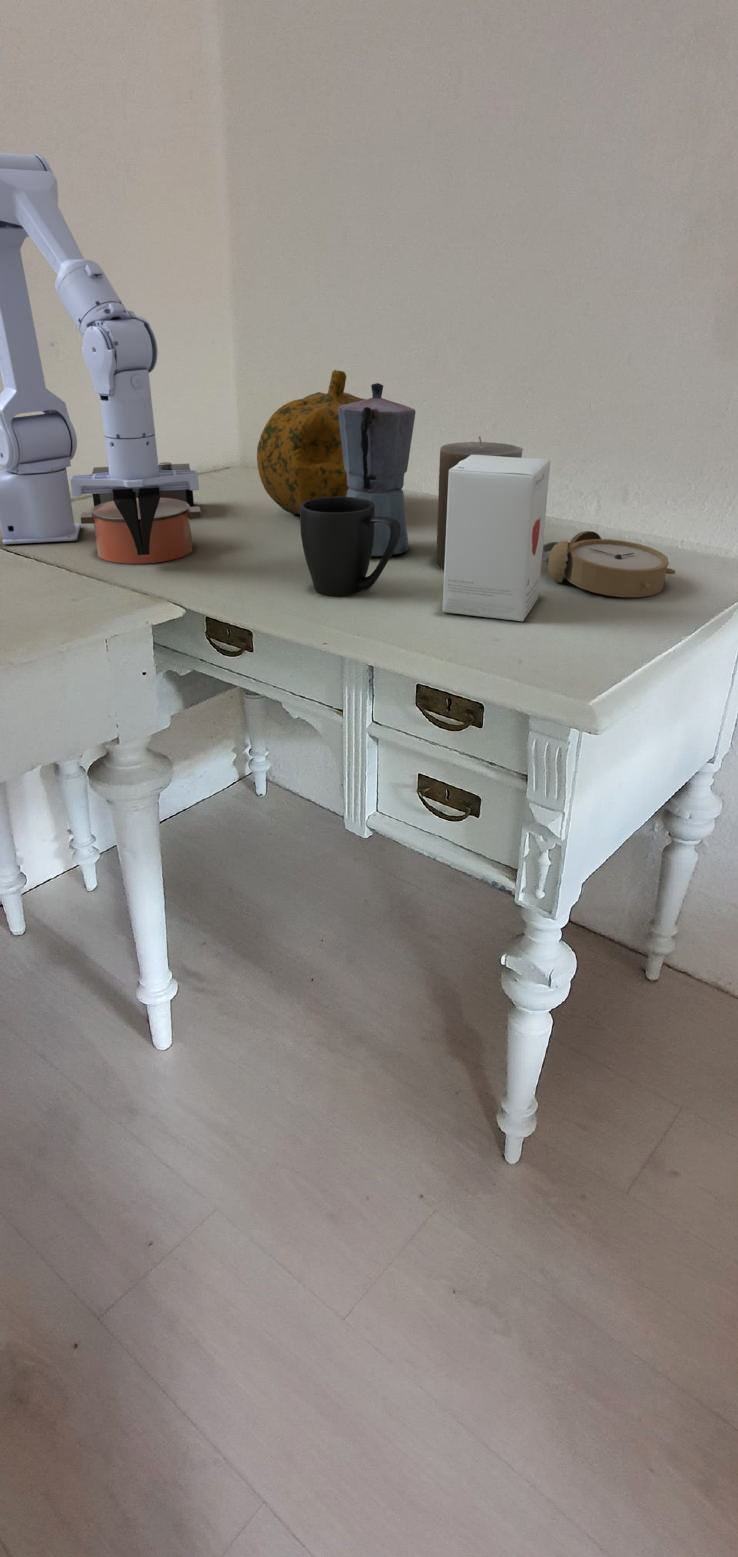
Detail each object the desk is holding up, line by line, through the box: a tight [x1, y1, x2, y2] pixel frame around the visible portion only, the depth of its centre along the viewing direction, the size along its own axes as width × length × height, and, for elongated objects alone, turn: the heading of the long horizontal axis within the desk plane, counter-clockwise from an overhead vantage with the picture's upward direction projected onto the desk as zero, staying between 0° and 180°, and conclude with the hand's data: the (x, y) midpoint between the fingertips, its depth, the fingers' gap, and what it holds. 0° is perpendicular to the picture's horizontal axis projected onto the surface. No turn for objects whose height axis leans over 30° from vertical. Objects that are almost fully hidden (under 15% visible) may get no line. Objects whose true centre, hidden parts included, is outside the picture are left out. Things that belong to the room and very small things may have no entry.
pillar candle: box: [436, 435, 524, 569], centre depth 116 cm, size 10×10×15 cm
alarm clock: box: [542, 530, 676, 598], centre depth 112 cm, size 11×5×15 cm
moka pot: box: [338, 382, 416, 557], centre depth 119 cm, size 10×15×20 cm, turn 174°
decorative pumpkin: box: [256, 369, 367, 516], centre depth 138 cm, size 20×21×20 cm
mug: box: [299, 497, 400, 597], centre depth 107 cm, size 8×12×10 cm
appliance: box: [91, 461, 195, 508], centre depth 142 cm, size 14×9×7 cm, turn 101°
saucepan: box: [79, 498, 202, 565], centre depth 124 cm, size 15×12×6 cm
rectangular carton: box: [442, 455, 551, 622], centre depth 101 cm, size 9×9×15 cm
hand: (143, 552), depth 117 cm, fingers closed, pressing on saucepan
